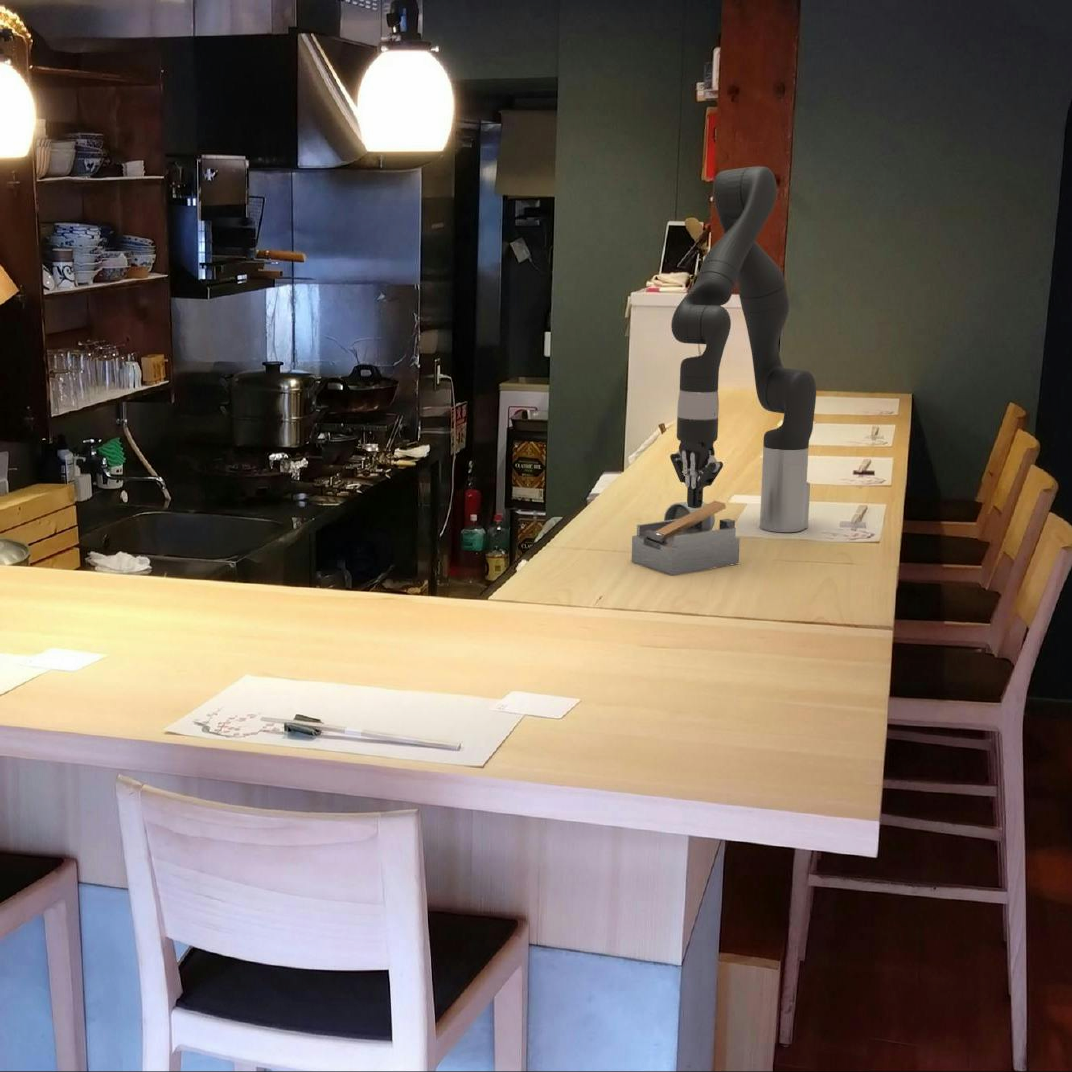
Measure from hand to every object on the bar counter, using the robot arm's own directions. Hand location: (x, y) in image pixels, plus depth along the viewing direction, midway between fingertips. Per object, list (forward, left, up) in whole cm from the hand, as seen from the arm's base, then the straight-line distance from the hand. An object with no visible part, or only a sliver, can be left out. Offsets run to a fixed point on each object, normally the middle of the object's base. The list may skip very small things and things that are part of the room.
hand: (694, 507), depth 251 cm
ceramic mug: (-12, -17, -11) cm, 23 cm away
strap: (+2, 0, -3) cm, 3 cm away
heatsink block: (+2, 0, -10) cm, 11 cm away
